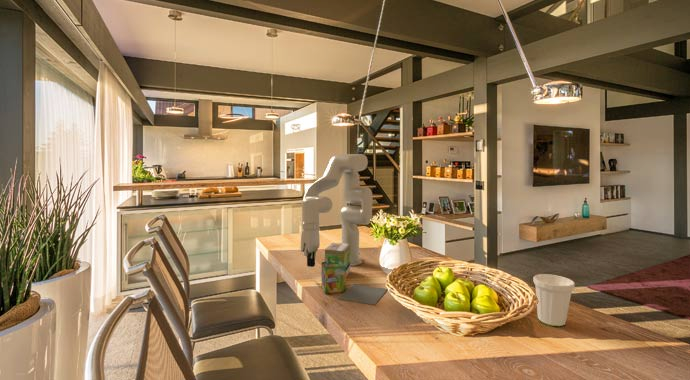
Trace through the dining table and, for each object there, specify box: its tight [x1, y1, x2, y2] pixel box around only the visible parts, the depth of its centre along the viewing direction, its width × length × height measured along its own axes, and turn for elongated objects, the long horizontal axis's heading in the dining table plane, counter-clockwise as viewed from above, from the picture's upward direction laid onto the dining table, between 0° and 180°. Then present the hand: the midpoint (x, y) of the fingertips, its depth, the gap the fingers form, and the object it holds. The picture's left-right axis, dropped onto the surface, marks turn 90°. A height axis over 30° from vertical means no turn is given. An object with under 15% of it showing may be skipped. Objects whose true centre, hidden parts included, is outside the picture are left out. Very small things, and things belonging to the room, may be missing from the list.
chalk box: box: [321, 256, 347, 295], centre depth 155 cm, size 9×9×15 cm
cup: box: [532, 273, 576, 327], centre depth 124 cm, size 12×12×15 cm
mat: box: [337, 283, 388, 306], centre depth 150 cm, size 18×16×1 cm
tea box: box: [324, 242, 351, 277], centre depth 173 cm, size 15×10×15 cm
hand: (311, 266), depth 159 cm, fingers closed
